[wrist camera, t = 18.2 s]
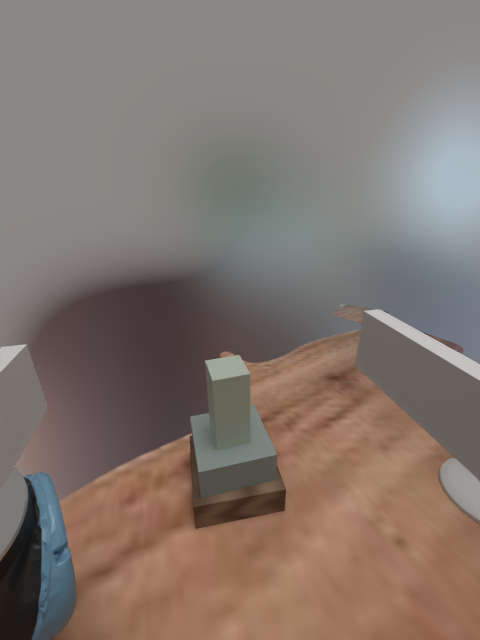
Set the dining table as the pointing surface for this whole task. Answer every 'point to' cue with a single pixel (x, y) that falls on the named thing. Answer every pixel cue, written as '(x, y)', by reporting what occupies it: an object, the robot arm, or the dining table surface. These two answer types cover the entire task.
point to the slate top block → (232, 458)
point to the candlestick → (461, 487)
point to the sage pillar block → (228, 401)
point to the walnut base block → (236, 500)
